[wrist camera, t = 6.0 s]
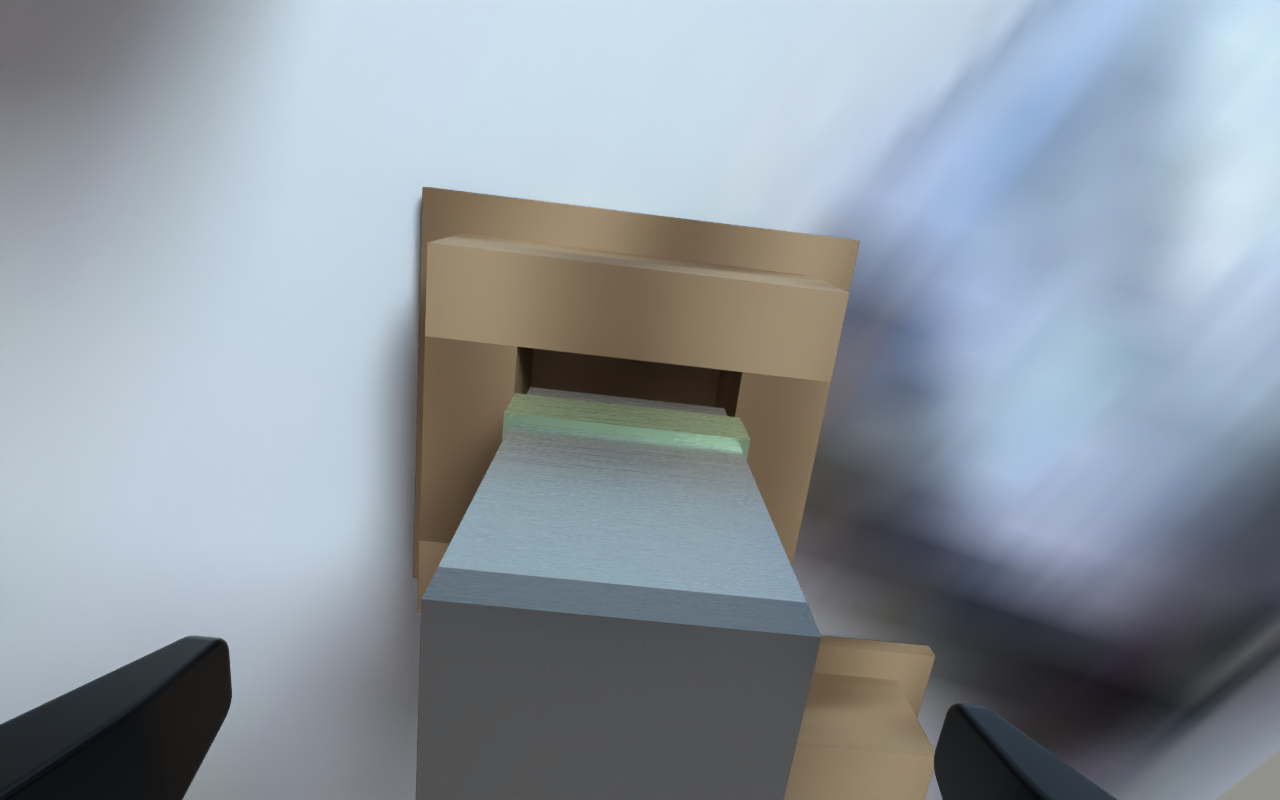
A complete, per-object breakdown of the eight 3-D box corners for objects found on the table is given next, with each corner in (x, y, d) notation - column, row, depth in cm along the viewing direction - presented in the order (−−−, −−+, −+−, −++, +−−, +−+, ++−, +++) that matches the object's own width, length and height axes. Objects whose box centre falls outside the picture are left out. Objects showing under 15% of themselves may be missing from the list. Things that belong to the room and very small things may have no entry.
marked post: (732, 401, 14) (838, 626, 7) (701, 584, 15) (765, 934, 8) (523, 378, 14) (405, 584, 7) (509, 565, 15) (400, 907, 8)
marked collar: (853, 239, 18) (921, 254, 14) (778, 603, 21) (814, 704, 17) (428, 187, 17) (364, 186, 13) (418, 568, 20) (364, 663, 16)
